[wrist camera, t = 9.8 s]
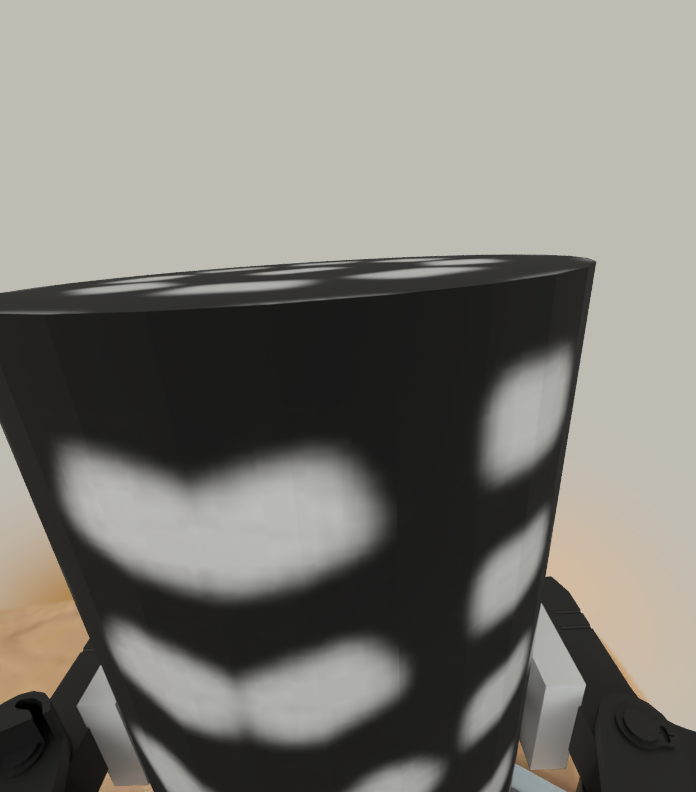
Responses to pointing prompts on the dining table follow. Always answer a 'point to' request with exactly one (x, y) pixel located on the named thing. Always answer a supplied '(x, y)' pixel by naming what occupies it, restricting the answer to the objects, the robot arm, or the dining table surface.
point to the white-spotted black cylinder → (305, 506)
